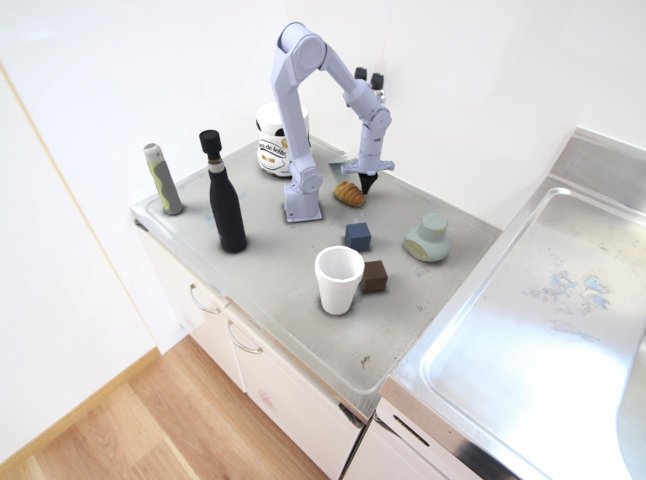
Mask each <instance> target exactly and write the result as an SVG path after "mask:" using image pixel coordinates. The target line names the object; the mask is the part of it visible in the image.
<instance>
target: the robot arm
mask: <svg viewBox="0 0 646 480" xmlns="http://www.w3.org/2000/svg"><path fill="white" fill-rule="evenodd" d="M274 45H275V52H274V58H273V62H272V67H271V72H270V78H269V80H270V86H271V90H272V93H273V97H274V100H275V101H274V102H276V104H277V108H278V112H279V115H280V119H281V123H282V127H283V130H284V134H285V138H286V141H287V145H288V149H289V152H290V153H289V154H288V157H289V163H288V170H289V172H290V174H291V175H292V176H291V177H292V178H291V182H290V183H289V184H286V185H283V199H284V204H283V208H284V209H283V210H284V212H285V215H286V221H287V223H298V222H306V221H307V222H308V221H316V220H321V219H322V218H323V217H322V213H321V210H320V206H319V202H320V201H319V200H320V199H319V195H320V193H319V192H320V188H321V187H322V185H323V182H324V177H323V175H322V173H321V172H320V171H319V170H318V167H317V164H316V161H315V159H314V156H313V153H312V154H311V151H310V146H309V141H310V140H309V141H308V137H307V132H306V127H305V123H304V118H303V113H302V109H301V105H302V104H301V100H300V95H299V90H298V88H299V86H300V85H301V84H302V83H303V82H304V81H305V80H306V79H307V78H308V77H309V76H310V75H312V74H313V73H314V72H315V71H316V70H318V71H319V72H324V71H325V72H327V74H328V75H329V76H330V78H332V79H333V81H335V82H336V84H337V85H339V86H340V88H342V91H344V92H343V100H344V102H345V103H346V104H347V105H348V106H349V107H350V108H351V110H352V111H353V112H354V113H355V114H356V115H357V117H358V119H359V120H360V121H361V122H362V124H361V132H360V134H361V135H360V140H359V141H360V142H359V150H358V159H357V161H354V162H350V163H348V164H344V165H343V164H342V165H341V166H340V174H341V176H344V177H345V176H347V175H349V174H357V175H358V179H359V181H360V185H361V186H360V187H361V188H360V189H361V193H363V196H367V195H368V194H369V191H370V189H371V187H372V186H373V184H374V183H375V182H376V181H377V180H378V178H379V172H381V171H390V172H394V171H395V167H396V164H395V162H394V160H381V155H382V150H383V144H384V138H385V136H386V132H387V130H388V128H389V127H390V126H391V124H392V121H393V118H392V117H391V112H390V111H391V110H389V109H388V108H387V107H386V106H384V104H382V101H383V99H382V97H381V96H379V95H376V94H375V93H374V91H373V89H372V88H373V84H372V83H371V82H370V81H369V80H364V79H362V78H357V79H356V78H355V76H354V75H353V74H352V72H351V71H350V70H349V68H348V67H347V66H346V64H345V63H344V62H343V60H342V59H341V57H340V56H339V55H338V53H337V52H336V50H334V49H333V47H332V46H331V45H330V44H329V43H327V42H325V41H324V39H323V38H322V36H321V35H320V34H318V33H316V32H313V31H311V30H310V29H309V28H307V27H306V25H304V24H303V23H302V22H300V21H296V20H295V21H294V20H293V21H290V22H288V23H286V25H285V26H284V27H283V28H282V29H281V30H280V32H279V34H278V36H277V37H276V39H275V43H274Z"/></svg>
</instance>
